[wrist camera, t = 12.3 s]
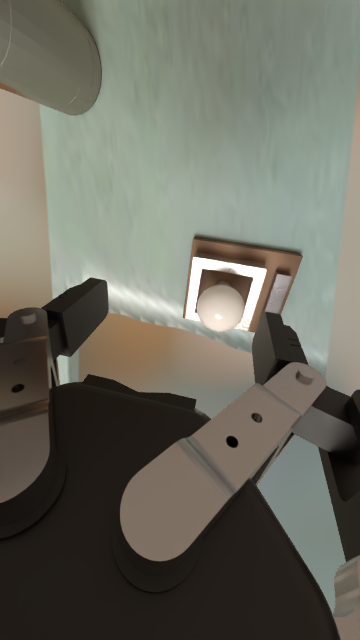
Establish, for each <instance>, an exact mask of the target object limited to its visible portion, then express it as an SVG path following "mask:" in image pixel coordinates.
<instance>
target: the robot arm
mask: <svg viewBox="0 0 360 640" xmlns="http://www.w3.org/2000/svg"><path fill="white" fill-rule="evenodd" d="M100 84H101V65H100V58H99V54H98V51H97V47H96V45H95V43H94V40H93V38H92V36H91V35H90V33H89V32H88V30H87V29H86V27H85V26H84V25H83V24H82V23H81V22H80V21H79V20H78V19H77V18H76V17H75V16H74V15H73V14H72V13H71V12H70V11H69V10H68V9H67V8H66V7H65V6H64V5H63V4H62V3H61V2H60V1H59V0H0V88H1V89H4V90H6V91H9V92H11V93H14V94H17V95H19V96H22V97H25V98H27V99H30V100H32V101H35V102H37V103H40V104H42V105H45V106H47V107H50V108H53V109H55V110H58V111H60V112H63V113H66V114H68V115H79V114H82V113H84V112H86V111H87V110H88V109H89V108H90V107H91V106H92V105H93V104H94V102H95V100H96V98H97V96H98V93H99V89H100ZM107 313H108V289H107V282H106V281H105V280H101V279H96V278H89V279H88V280H86V281H85V282H83V283H82V284H81V285H77V286H74V287H72V288H69V289H68V290H66V291H65V292H64V293H63V294H61V295H59V296H58V298H57V297H56V298H55V299H53V300H52V301H51V302H49V303H48V304H47V305H45V306H43V307H42V308H24V309H20V310H17V311H15V312H13V313H11V314H10V315H9V316H8V318H0V640H360V390H356V391H355V392H354V393H353V394H352V396H351V397H350V396H348V395H345V394H343V393H341V392H338V391H335V390H334V389H331V388H329V387H328V386H326V380H325V378H324V377H323V376H322V374H321V373H320V372H318V371H317V370H316V369H314V368H313V367H311V366H309V365H308V362H307V360H306V357H305V355H304V352H303V349H302V348H301V344H300V342H299V339H298V336H297V334H296V332H295V331H294V330H293V329H292V328H291V327H290V326H286V325H284V324H283V321H282V318H281V315H280V314H277V313H272V312H267V311H264V312H263V313H262V315H261V318H260V321H259V324H258V327H257V329H256V332H255V335H254V338H253V343H252V355H253V365H254V374H255V384H254V385H253V386H252V387H251V388H249V389H248V390H247V391H246V392H245V393H243V394H242V395H241V396H240V397H238V398H237V399H236V400H235V401H233V402H232V403H231V404H230V405H228V406H227V407H226V408H225V409H224V410H222V411H221V412H220V413H219V414H217V415H216V416H215V417H214V418H212V419H211V418H209V417H208V416H207V415H206V414H204V413H203V412H201V411H199V410H197V409H195V404H196V399H192V398H188V397H184V396H179V395H175V394H171V393H145V392H137V391H135V390H133V389H131V388H129V387H127V386H125V385H123V384H121V383H119V382H117V381H115V380H111V379H107V378H103V377H99V376H94V375H90V374H88V375H87V377H86V378H85V379H84V381H83V382H73V383H67V384H63V385H60V380H59V370H58V361H57V357H58V356H59V355H64V356H68V357H71V356H72V355H73V354H74V353H75V351H76V350H77V349H78V348H79V347H80V346H81V345H82V343H84V341H85V340H86V339H87V338H88V337H89V336H90V335H91V334H92V332H93V331H94V330H95V329H96V328H97V327H98V326H99V324H100V323H101V322H102V321H103V320H104V319H105V317H106V316H107ZM295 435H297V436H300V437H301V438H303V439H305V440H307V441H309V442H311V443H313V444H315V445H316V446H318V448H319V452H320V456H321V461H322V465H323V469H324V473H325V477H326V481H327V485H328V489H329V493H330V498H331V502H332V505H333V510H334V514H335V518H336V522H337V526H338V531H339V535H340V539H341V543H342V547H343V551H344V555H345V559H346V563H344V564H343V565H341V566H340V567H339V568H338V569H337V571H336V574H335V579H334V587H335V608H334V613H333V615H332V612H331V610H330V607H329V605H328V603H327V601H326V598H325V596H324V594H323V592H322V591H321V589H320V587H319V585H318V583H317V582H316V580H315V579H314V577H313V575H312V573H311V572H310V570H309V569H308V567H307V565H306V564H305V562H304V561H303V559H302V558H301V556H300V554H299V553H298V551H297V550H296V548H295V546H294V545H293V543H292V542H291V540H290V538H289V537H288V535H287V534H286V532H285V530H284V529H283V527H282V526H281V524H280V522H279V521H278V519H277V518H276V516H275V514H274V513H273V511H272V510H271V508H270V506H269V505H268V503H267V502H266V500H265V499H264V497H263V495H262V494H261V492H260V491H259V489H258V487H257V484H258V483H259V482H260V481H261V479H262V478H263V476H264V475H265V473H266V472H267V471H268V469H269V468H270V466H271V465H272V464H273V462H274V461H275V460H276V459H277V457H278V456H279V455H280V453H281V452H282V451H283V450H284V448H285V447H286V446H287V444H288V443H289V442H290V441H291V439H292V438H293V437H294V436H295Z"/></svg>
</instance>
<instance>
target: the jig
mask: <svg viewBox="0 0 360 640" xmlns="http://www.w3.org/2000/svg"><path fill="white" fill-rule="evenodd" d="M302 257H303V256H302V255H301V254H298V253H291V252H285V251H279V250H272V249H266V248H260V247H254V246H247V245H241V244H235V243H228V242H222V241H216V240H210V239H203V238H197V237H195V238H194V239H193V245H192V252H191V260H190V268H189V275H188V283H187V290H186V298H185V305H184V313H183V318H186V319H191V320H196V321H200V319H199V317H198V314H197V303H198V300H199V297H200V296H201V294H202V293H203V292H204V291H205V290H206V289H208V288H209V287H211V286H214V285H216V284H217V283H218V282H219V281H227V282H229V283H230V285H231V287H232V288H234V289H236V290H237V291H238V292H239V293H240V295H241V296H242V298H243V301H244V305H245V311H244V315H243V318H242V320H241V321H240V323H239V324H238V325H237V326H236V327H234V328H235V329H240V330H245V331H250V332H256V329H257V327H258V324H259V321H260V318H261V315H262V313H263V312H264V311H267V312H272V313H277V314H280V315H281V312H282V310H283V307H284V305H285V302H286V299H287V297H288V294H289V291H290V289H291V286H292V283H293V281H294V278H295V276H296V273H297V270H298V268H299V265H300V262H301V260H302Z"/></svg>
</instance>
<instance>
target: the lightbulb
mask: <svg viewBox="0 0 360 640" xmlns="http://www.w3.org/2000/svg"><path fill="white" fill-rule="evenodd" d="M244 311H245V305H244V301H243V298H242V296H241V295H240V293H239V292H238V291H237V290H236V289H234V288H232V287H231V285H230V283H229V282H227V281H219V282H218V283H217V284H216V285H214V286H211V287H209V288H208V289H206V290H205V291H204V292H203V293H202V294H201V296H200V297H199V300H198V303H197V314H198V317H199V319H200V321H201V322H202V324H203V325H204V326H205V327H207V328H208V329H210V330H213V331H216V332H225V331H228V330H231V329H233V328H234V327H236V326H237V325H238V324H239V323H240V321H241V320H242V318H243V315H244Z"/></svg>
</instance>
